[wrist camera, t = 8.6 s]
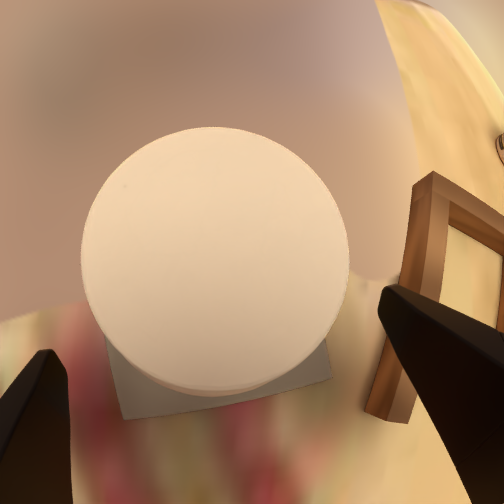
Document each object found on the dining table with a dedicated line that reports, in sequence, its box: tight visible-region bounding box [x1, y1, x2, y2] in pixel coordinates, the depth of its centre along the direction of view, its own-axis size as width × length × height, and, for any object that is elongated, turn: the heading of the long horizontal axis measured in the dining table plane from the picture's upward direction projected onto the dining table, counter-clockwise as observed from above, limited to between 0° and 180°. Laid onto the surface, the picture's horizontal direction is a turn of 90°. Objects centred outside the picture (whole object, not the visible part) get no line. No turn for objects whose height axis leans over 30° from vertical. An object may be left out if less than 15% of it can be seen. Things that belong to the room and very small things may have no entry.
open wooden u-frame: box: [364, 171, 504, 424], centre depth 17 cm, size 15×12×2 cm
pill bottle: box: [81, 127, 350, 397], centre depth 10 cm, size 6×6×11 cm
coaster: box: [104, 334, 333, 420], centre depth 16 cm, size 11×11×1 cm
